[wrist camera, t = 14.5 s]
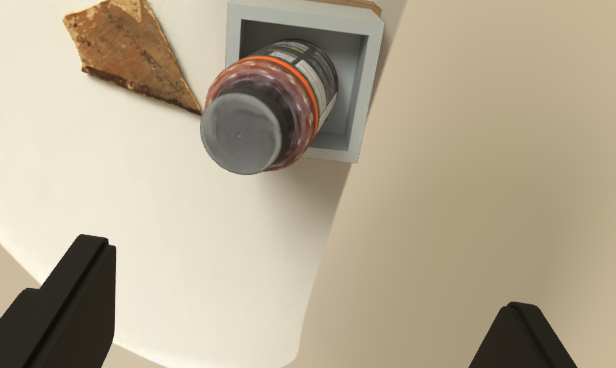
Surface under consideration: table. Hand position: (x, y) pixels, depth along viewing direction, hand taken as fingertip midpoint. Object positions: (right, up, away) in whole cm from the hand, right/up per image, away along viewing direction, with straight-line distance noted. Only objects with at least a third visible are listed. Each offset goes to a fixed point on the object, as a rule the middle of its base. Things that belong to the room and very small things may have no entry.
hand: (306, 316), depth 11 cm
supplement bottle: (-1, +10, +20) cm, 23 cm away
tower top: (-1, +12, +23) cm, 26 cm away
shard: (-13, +15, +27) cm, 33 cm away
